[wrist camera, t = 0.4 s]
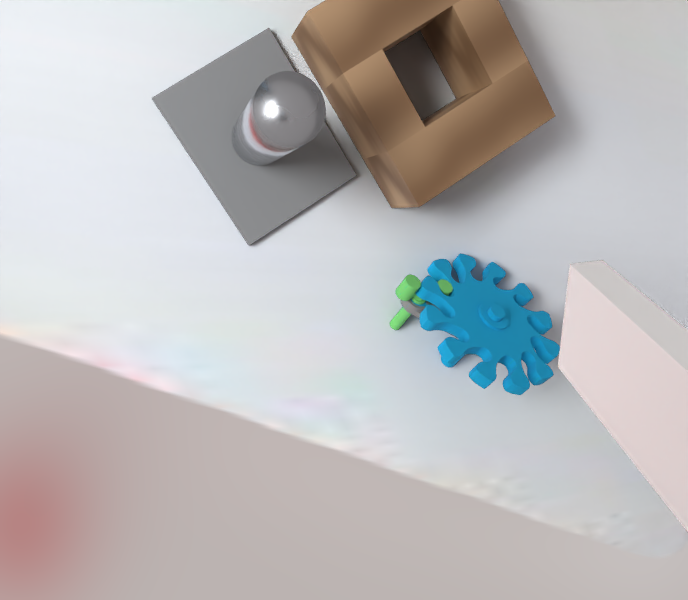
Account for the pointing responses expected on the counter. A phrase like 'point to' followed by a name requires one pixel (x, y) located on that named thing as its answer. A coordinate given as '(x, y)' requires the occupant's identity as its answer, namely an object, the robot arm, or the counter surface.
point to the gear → (481, 322)
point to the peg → (279, 118)
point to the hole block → (393, 102)
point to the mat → (217, 148)
